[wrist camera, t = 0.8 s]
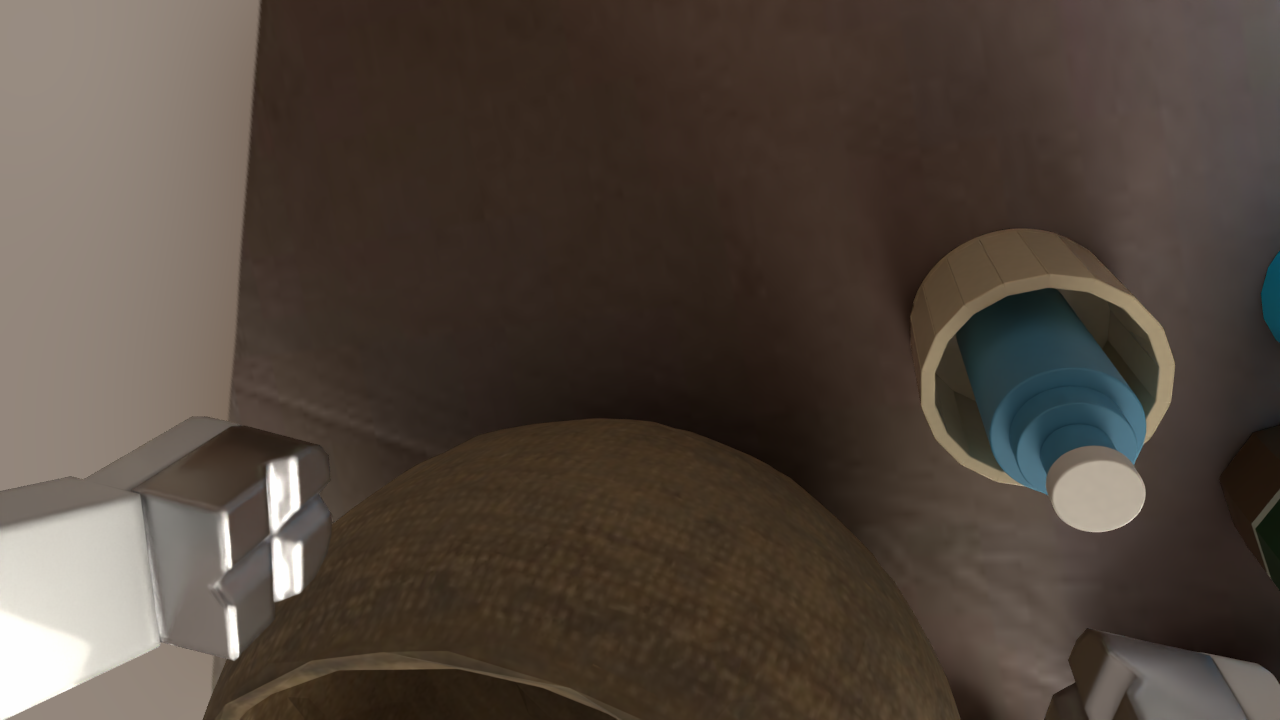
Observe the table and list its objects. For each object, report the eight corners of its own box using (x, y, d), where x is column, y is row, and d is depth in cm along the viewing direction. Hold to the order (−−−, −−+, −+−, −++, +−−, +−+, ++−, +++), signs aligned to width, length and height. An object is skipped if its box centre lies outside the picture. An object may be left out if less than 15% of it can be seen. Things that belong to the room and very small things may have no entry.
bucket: (872, 295, 43) (876, 353, 36) (1057, 187, 39) (1103, 227, 32) (968, 439, 45) (991, 521, 38) (1155, 350, 41) (1220, 422, 34)
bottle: (935, 312, 42) (978, 470, 28) (1038, 255, 40) (1142, 394, 26) (989, 394, 43) (1058, 588, 29) (1093, 343, 41) (1223, 525, 27)
